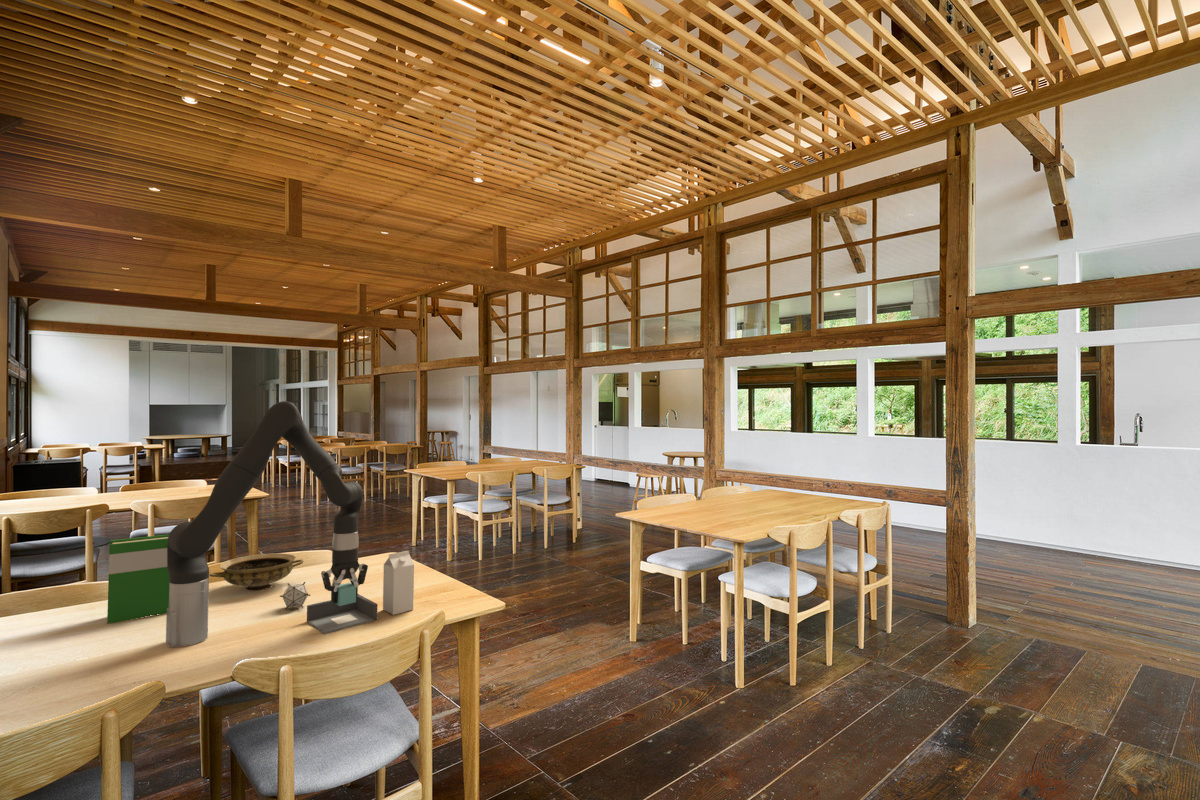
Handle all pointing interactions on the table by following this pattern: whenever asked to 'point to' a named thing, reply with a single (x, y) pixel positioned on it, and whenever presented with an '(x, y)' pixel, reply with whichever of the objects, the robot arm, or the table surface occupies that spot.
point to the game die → (295, 595)
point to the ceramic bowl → (257, 570)
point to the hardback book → (137, 578)
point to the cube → (346, 594)
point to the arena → (341, 614)
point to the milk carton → (398, 583)
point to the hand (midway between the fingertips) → (344, 600)
